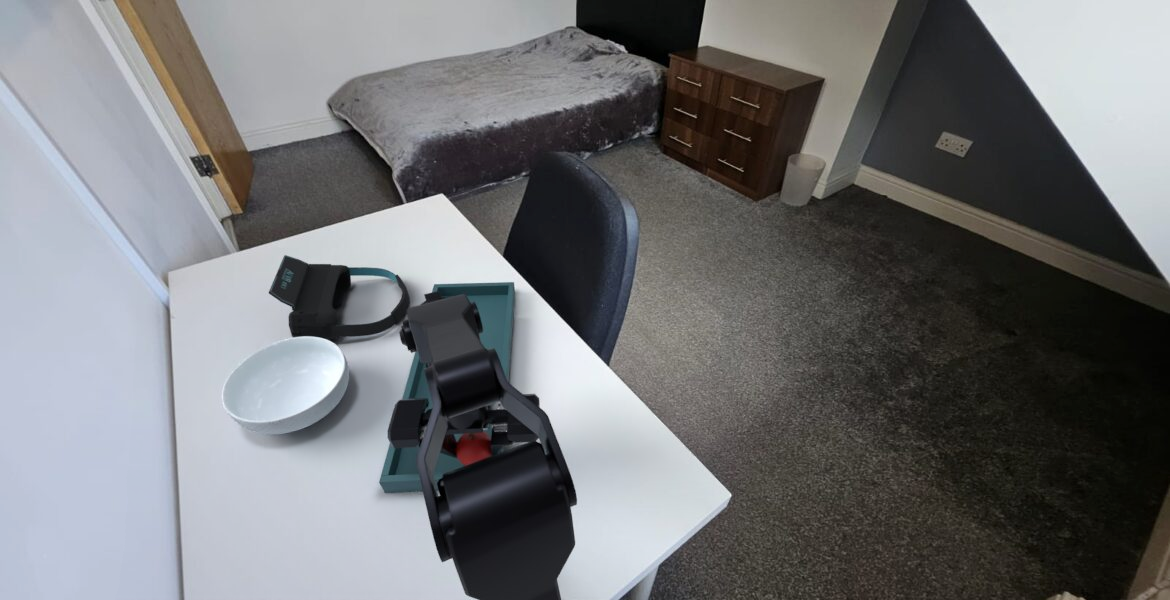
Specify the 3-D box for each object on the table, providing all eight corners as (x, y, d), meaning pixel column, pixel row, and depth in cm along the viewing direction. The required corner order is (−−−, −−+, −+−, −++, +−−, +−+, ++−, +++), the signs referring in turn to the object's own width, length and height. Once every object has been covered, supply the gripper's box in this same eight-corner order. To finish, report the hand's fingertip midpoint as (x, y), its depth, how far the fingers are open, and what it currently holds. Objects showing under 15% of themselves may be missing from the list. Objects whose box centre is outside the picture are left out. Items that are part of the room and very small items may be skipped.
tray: (501, 487, 66) (498, 476, 64) (384, 493, 65) (378, 482, 63) (515, 293, 97) (514, 281, 95) (436, 295, 96) (434, 284, 94)
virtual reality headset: (298, 284, 96) (288, 243, 90) (412, 284, 103) (409, 245, 96) (275, 349, 83) (261, 306, 76) (408, 344, 89) (404, 303, 83)
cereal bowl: (218, 446, 70) (193, 418, 65) (278, 361, 82) (260, 333, 78) (331, 451, 69) (313, 424, 65) (374, 366, 82) (362, 337, 77)
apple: (492, 473, 65) (488, 450, 61) (456, 474, 65) (449, 452, 61) (495, 441, 69) (491, 418, 65) (461, 442, 69) (454, 419, 65)
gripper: (537, 333, 63) (542, 404, 73) (394, 338, 62) (420, 409, 72) (536, 402, 54) (541, 470, 65) (371, 409, 53) (403, 477, 63)
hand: (475, 453), depth 66 cm, fingers closed on apple, 5 cm apart
